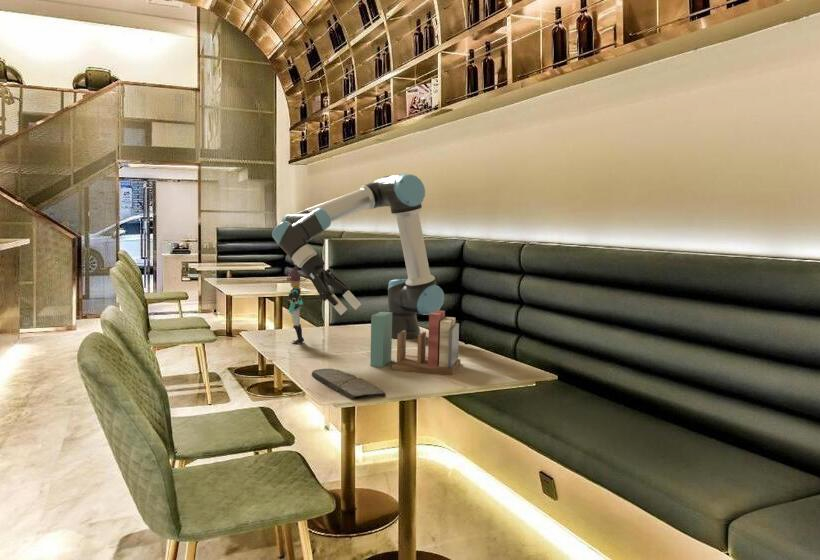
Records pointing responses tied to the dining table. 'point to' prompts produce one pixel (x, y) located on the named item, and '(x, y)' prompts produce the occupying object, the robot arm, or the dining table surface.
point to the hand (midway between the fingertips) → (351, 309)
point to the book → (381, 339)
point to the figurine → (295, 302)
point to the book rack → (432, 347)
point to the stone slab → (345, 383)
